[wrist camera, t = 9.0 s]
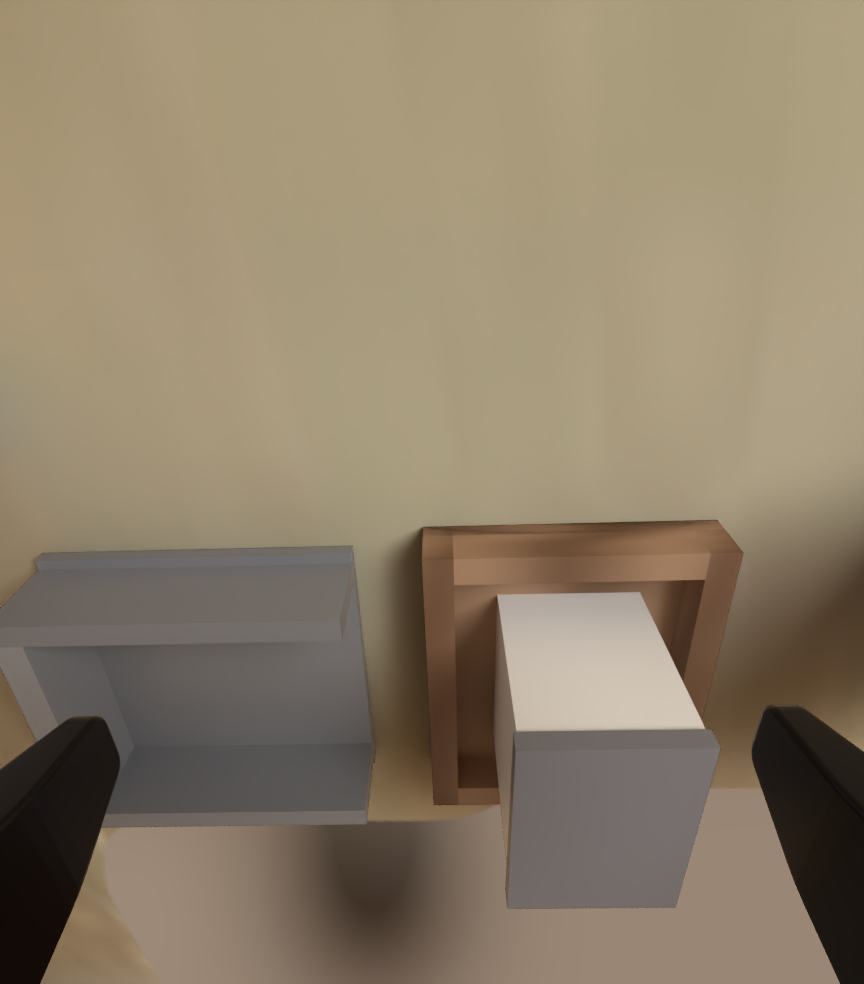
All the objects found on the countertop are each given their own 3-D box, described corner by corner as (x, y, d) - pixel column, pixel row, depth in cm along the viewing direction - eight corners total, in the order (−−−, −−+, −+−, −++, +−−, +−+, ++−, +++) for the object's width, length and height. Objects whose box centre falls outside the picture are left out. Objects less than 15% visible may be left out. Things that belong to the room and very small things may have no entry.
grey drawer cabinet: (352, 546, 21) (337, 609, 18) (375, 752, 26) (367, 830, 23) (42, 553, 21) (-24, 617, 18) (123, 756, 26) (82, 834, 23)
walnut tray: (717, 519, 21) (743, 552, 19) (665, 759, 26) (681, 801, 24) (423, 527, 21) (421, 560, 19) (434, 762, 26) (433, 805, 25)
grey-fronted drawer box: (643, 589, 21) (720, 748, 15) (619, 732, 25) (675, 907, 19) (494, 592, 21) (516, 751, 15) (490, 734, 25) (507, 909, 19)
